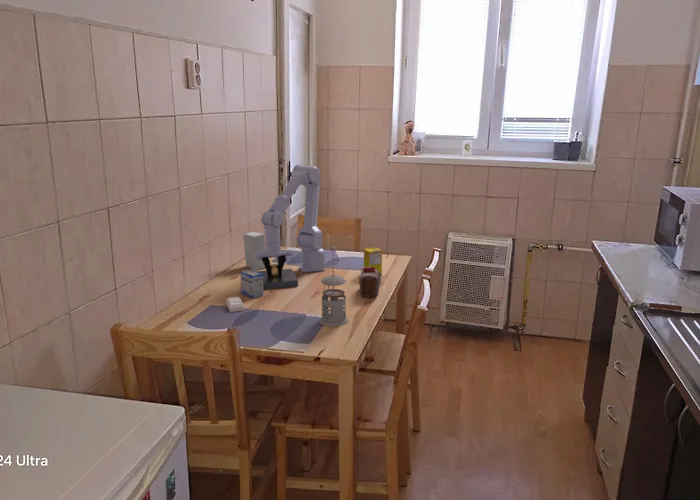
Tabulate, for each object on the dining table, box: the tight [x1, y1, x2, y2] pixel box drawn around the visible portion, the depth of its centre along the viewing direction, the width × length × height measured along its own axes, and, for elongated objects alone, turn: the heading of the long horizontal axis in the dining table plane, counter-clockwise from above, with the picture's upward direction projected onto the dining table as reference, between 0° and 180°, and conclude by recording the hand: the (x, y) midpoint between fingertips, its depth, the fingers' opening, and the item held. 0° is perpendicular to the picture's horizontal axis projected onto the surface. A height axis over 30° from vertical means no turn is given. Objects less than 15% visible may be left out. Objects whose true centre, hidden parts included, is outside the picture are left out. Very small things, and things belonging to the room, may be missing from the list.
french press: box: [318, 246, 350, 327], centre depth 182 cm, size 10×12×25 cm
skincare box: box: [242, 231, 266, 271], centre depth 242 cm, size 8×6×15 cm
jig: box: [251, 267, 299, 290], centre depth 223 cm, size 16×16×4 cm
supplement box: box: [363, 246, 383, 277], centre depth 231 cm, size 6×6×11 cm
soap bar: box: [225, 296, 246, 313], centre depth 197 cm, size 5×9×3 cm, turn 21°
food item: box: [359, 266, 382, 299], centre depth 210 cm, size 14×8×10 cm, turn 178°
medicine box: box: [240, 269, 264, 299], centre depth 208 cm, size 8×4×9 cm, turn 47°
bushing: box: [269, 263, 279, 278], centre depth 223 cm, size 4×4×6 cm
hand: (274, 274), depth 223 cm, fingers closed on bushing, 4 cm apart
